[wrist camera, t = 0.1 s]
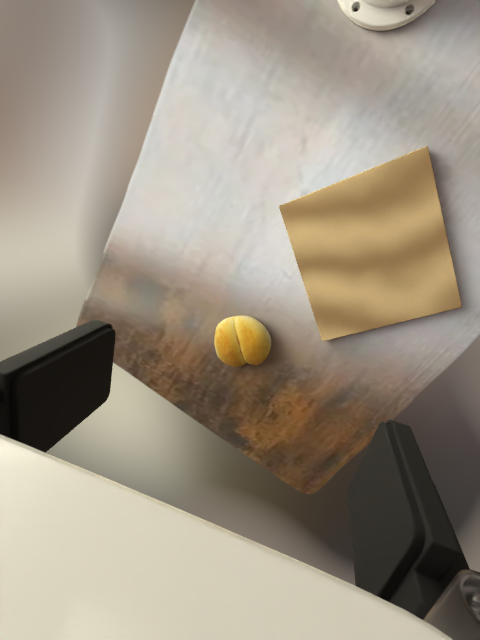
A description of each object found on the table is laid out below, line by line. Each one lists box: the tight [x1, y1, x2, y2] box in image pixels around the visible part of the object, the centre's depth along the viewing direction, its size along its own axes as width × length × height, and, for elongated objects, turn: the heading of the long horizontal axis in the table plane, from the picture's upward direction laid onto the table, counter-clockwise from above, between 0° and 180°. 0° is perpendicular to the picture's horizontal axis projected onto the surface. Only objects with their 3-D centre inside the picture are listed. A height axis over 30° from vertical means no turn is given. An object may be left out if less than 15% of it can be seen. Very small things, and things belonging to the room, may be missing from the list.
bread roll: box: [214, 315, 271, 367], centre depth 49 cm, size 8×9×4 cm
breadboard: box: [279, 146, 462, 341], centre depth 42 cm, size 20×18×2 cm
